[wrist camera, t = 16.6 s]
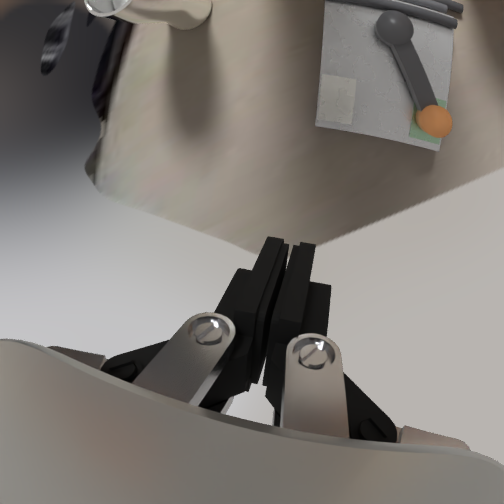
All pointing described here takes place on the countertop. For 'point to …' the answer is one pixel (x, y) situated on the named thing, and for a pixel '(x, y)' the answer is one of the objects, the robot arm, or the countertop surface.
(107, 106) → the countertop surface
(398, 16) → the breaker lever
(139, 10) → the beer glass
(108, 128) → the countertop surface
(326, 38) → the panel
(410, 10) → the cord bundle
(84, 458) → the robot arm
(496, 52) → the countertop surface
